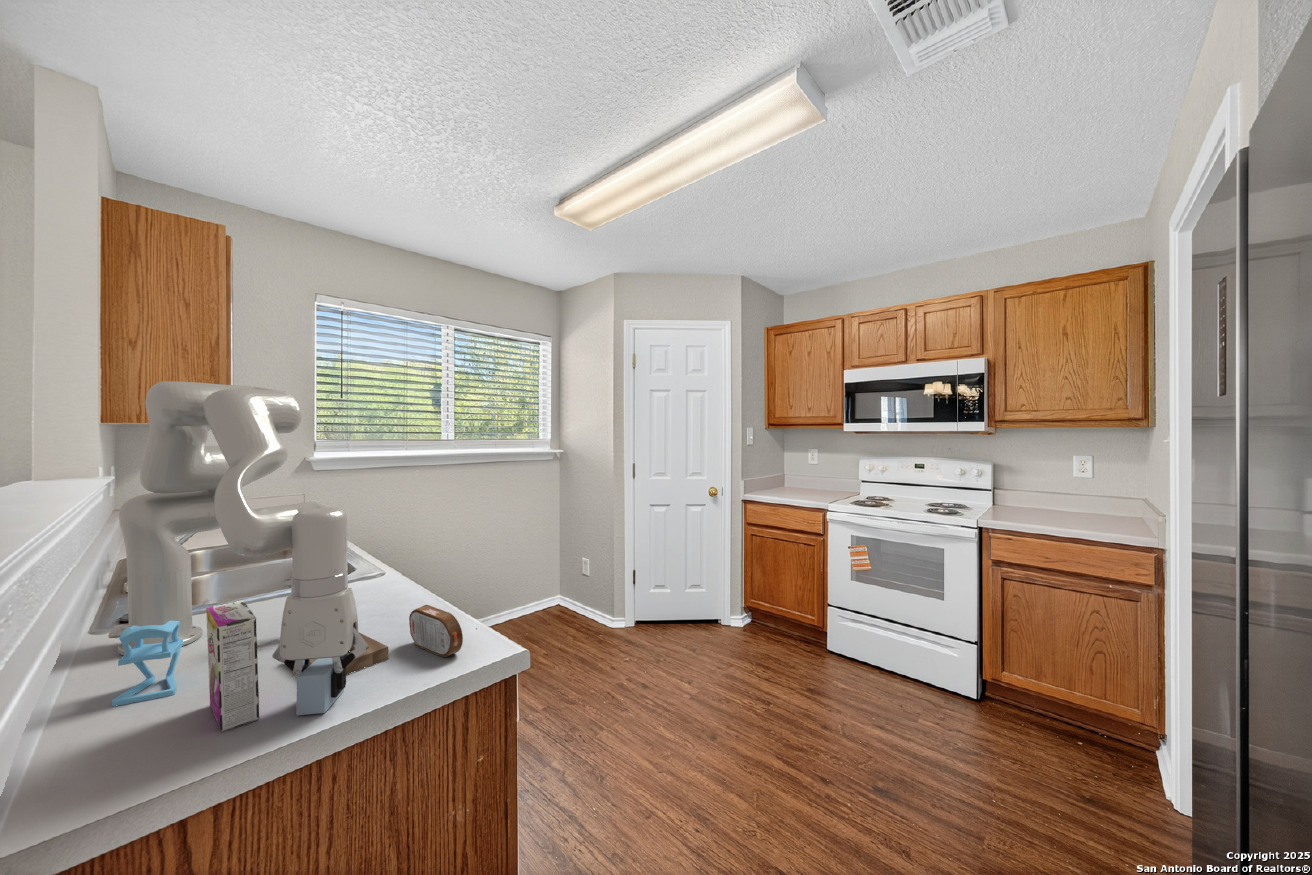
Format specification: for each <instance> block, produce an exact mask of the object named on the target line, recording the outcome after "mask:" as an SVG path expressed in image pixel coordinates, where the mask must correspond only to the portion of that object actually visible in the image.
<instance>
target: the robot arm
mask: <svg viewBox="0 0 1312 875" xmlns="http://www.w3.org/2000/svg"><path fill="white" fill-rule="evenodd" d="M144 403H145V410H146V414H147V418H148V423H149V430H148V431H149V433H148V436H147V439H146V445H145V448H144V452H143V458H142V461H141V462H142V463H141V467H140V472H139V473H140V474H139V480H140V484H141V487H143V489H145V490H146V491H148V492H150V493H144V494H140V495H137V496H134V497H130V498H129V499H128V500H126V501H124V502H123V503H122V505H120V508H119V509H118V510H119V511H118V520H119V526H120V530H121V533H122V537H123V542H124V546H125V555H126V557H125V558H126V574H127V606H128V607H127V609H128V610H127V611H128V616H127V617H128V618H127V619H128V624H120V625H119V624H118V625H117V624H116V625H114V626H112V628H111V631H109V633H108V635H107V637H108V639H119V638H120V635H121V633H122V632H123V631H124V630H125V629H127V628H129V627H131V626H138V627H139V626H141V627H142V626H147V625H164V624H166V623H167V622H168V621H180V627H179V630H178V638H179V639H183V644H182V647H183V646H187V645H189V644H191V643H193V642H195V641H197V640H199V638H201V637H202V636H203V628H202V627H201V626H196V625H193V596H192V593H193V592H192V591H193V590H192V585H193V584H192V557H191V554H190V553H189V552H190V551H188V549H187V548H186V547H185V546H184V545H182V544H180V543H179V541H177V540H176V538H177V537H180V536H185V535H190V534H197V533H204V532H209V531H214V530H215V531H216V530H217V529H220V530H221V532H222V535H223V536H224V538H225V541H226V542H227V544H228V546H229V547H230V549H231V550H232V551H234V553H236V554H237V555H239V556H241V557H248V558H252V557H259V556H265V555H269V554H270V555H271V554H274V553H275V554H276V553H278V552H284V551H288V550H291V552H292V553H291V555H292V557H291V558H292V560H291V564H292V576H291V577H290V578H285V579H284V580H283V587H284V588H289V589H291V591H290V592H291V594H289V595H288V596H286V598H285V602H284V607H283V613H282V617H281V627H280V638H279V645H278V647H277V648H276V649H275V651H274V652H273V654H272V656H271V657H272V658H273V659H274V660H276V661H278V662H279V663H281V664H282V663H283V665H284V666H286V667H287V668H288V669H290V670H291V671H292V675H293V676H294V677H297V676H298V675H299V674H301V673H302V672H303V671H304V670H305V669H306V668H307V667H309V665H310V660H311V659H320V658H332V662H333V667H334V672H333V673H332V675H331V697H332V698H335V697H337V696H338V695H339V693H340V692H341V691H342V690H343V689H344V690H345V688H346V686H347V675H346V667H347V666H348V665H349V664H350V663H351V662H352V661H353V660H354V659H355V658H357V657H359V656H360V655H362V654H363V653H365V652H366V650H367V649H368V648H369V646H368V644H367V643H366V642H365V640H364V639H363V638H362V636H361V635H360V634H359V633H360V632H359V618H358V612H357V611H358V610H357V604H356V600H355V594H354V592H353V589H352V588H351V587H349V578H348V577H349V576H348V574H349V573H348V570H349V569H348V516H347V513H346V512H345V510H343V509H341V508H339V507H327V506H325V505H323V504H321V503H319V502H308V501H307V502H300V503H294V504H293V503H291V504H282V505H276V506H267V507H260V508H254V509H253V508H251V507H250V506H249V505H248V502H247V501H246V498H245V496H244V493H243V488H244V487H245V486H247V485H249V484H251V483H253V482H255V481H258V480H259V479H262V478H265V477H266V476H268V475H270V474H272V473H274V472H275V471H277V470H278V469H280V468H281V467H282V466H283V465H284V464H285V463H286V461H287V459H288V451H287V450H288V449H287V448H286V446H285V445H284V443H283V440H282V439H281V437H280V435H279V434H289V433H292V432H295V430H297V429H298V428H299V427H300V424H301V422H302V417H303V416H302V409H301V406H300V404H299V402H298V401H297V399H296V397H294V396H293V395H292V394H290V393H289V392H286V391H284V390H277V389H272V388H265V387H259V386H258V387H257V386H251V385H239V384H238V385H235V384H234V385H233V384H220V383H208V382H195V381H194V382H192V381H173V380H172V381H169V380H168V381H165V380H164V381H160V382H156V383H155V384H154V385H152V386H151V387H150V388H149V390H148V391H147V393H146V397H145V402H144ZM208 428H210V430H211V432H212V434H213V436H214V438H215V440H216V442H217V445H206V444H207V440H208V434H209V433H208ZM172 633H173V632H172ZM172 633H171V635H170V636H169V640H168V641H172V637H171V636H172ZM163 639H164V638H145V639H143V645H145V644H155V643H161V642H163ZM128 644H129V645H130V647H131V649H132V648H133V647H134V646H136V641H132V642H129V643H128ZM352 645H353V646H354V647H355V649H354V650H353V651H351V652H350V653H349V652H348V651H349V650H350V649H351V646H352ZM117 652H118V654H119V655H122V656H124V654H125V649H124V647H123V645H122V643H120V644H119V645H118V647H117Z"/></svg>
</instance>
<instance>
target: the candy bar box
mask: <svg viewBox="0 0 1312 875" xmlns="http://www.w3.org/2000/svg"><path fill="white" fill-rule="evenodd" d="M205 609H206V610H205V611H206V635H207V636H206V638H207V639H206V641H207V657H208V658H207V659H208V661H207V662H208V688H209V706H210V708H211V711H212V713H213V715H214V716H213V717H215V720H216V722H217V726H218V728H219V731H220V732H221V733H223V732H227V731H231V730H233V729H236V728H238V727H241V726H244V725H246V724H250V723H252V722H255V721H258V720H259V719H260V702H259V700H260V699H259V698H260V696H259V693H260V692H259V691H260V690H259V668H258V666H259V665H258V659H259V658H258V639H257V638H258V637H257V636H258V635H257V634H258V633H257V617H256V615H255V614H254V613H253V611H252V610H251V609H250V607H249V606H248V605H247V604H246V602H245V601H244V600H243V599H242V600H237V601H232V602H227V603H222V604H215V605H212V606H211V605H210V606H209V607H206V608H205Z"/></svg>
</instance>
